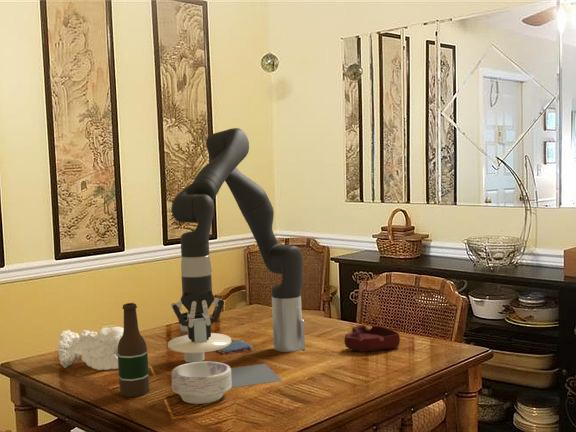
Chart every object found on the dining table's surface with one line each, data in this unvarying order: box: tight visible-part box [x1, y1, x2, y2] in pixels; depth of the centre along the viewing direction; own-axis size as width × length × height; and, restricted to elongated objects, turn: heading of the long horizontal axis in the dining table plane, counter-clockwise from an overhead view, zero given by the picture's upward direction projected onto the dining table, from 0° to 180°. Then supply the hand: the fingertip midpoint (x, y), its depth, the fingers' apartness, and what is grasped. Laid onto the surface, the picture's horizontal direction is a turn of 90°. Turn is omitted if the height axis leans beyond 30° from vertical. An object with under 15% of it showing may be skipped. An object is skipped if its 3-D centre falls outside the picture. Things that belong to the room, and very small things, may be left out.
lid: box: [167, 318, 232, 354], centre depth 180 cm, size 16×16×6 cm
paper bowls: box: [171, 361, 232, 405], centre depth 181 cm, size 15×15×8 cm
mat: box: [230, 363, 283, 389], centre depth 197 cm, size 17×17×1 cm
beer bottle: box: [117, 302, 150, 398], centre depth 187 cm, size 8×8×24 cm
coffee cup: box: [177, 311, 206, 363], centre depth 214 cm, size 8×8×15 cm
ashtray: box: [343, 324, 401, 353], centre depth 223 cm, size 18×16×5 cm
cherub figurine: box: [57, 326, 124, 371], centre depth 216 cm, size 13×12×20 cm
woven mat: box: [217, 339, 255, 356], centre depth 227 cm, size 10×11×2 cm
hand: (199, 339), depth 180 cm, fingers closed on lid, 3 cm apart
